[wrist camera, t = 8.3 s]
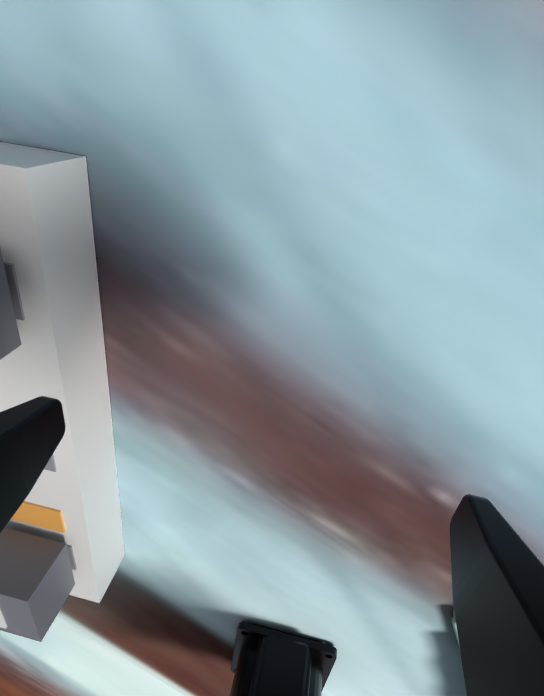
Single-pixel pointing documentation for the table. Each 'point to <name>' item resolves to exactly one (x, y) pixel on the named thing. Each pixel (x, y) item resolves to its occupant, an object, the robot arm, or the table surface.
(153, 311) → the table surface
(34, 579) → the switch
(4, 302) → the switch
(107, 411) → the switch unit
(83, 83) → the table surface
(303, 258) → the table surface
